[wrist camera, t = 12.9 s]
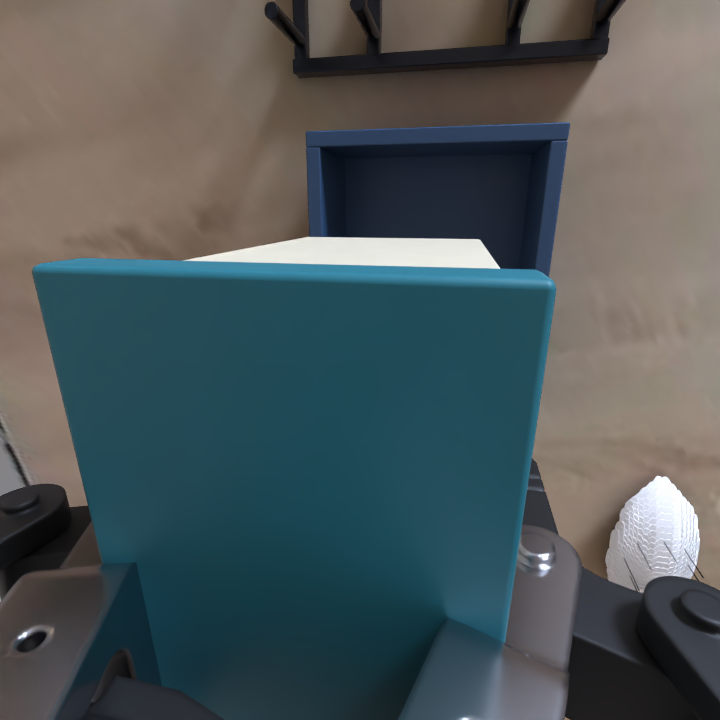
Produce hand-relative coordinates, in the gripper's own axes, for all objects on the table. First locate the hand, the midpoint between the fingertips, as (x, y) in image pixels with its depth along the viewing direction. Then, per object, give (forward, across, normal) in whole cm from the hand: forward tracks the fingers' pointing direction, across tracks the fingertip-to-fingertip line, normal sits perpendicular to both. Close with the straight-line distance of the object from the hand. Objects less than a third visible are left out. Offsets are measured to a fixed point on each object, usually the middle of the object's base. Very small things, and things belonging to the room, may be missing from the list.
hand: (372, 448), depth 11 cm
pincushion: (+23, -18, +19) cm, 35 cm away
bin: (+23, 0, 0) cm, 23 cm away
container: (+2, 0, 0) cm, 2 cm away
